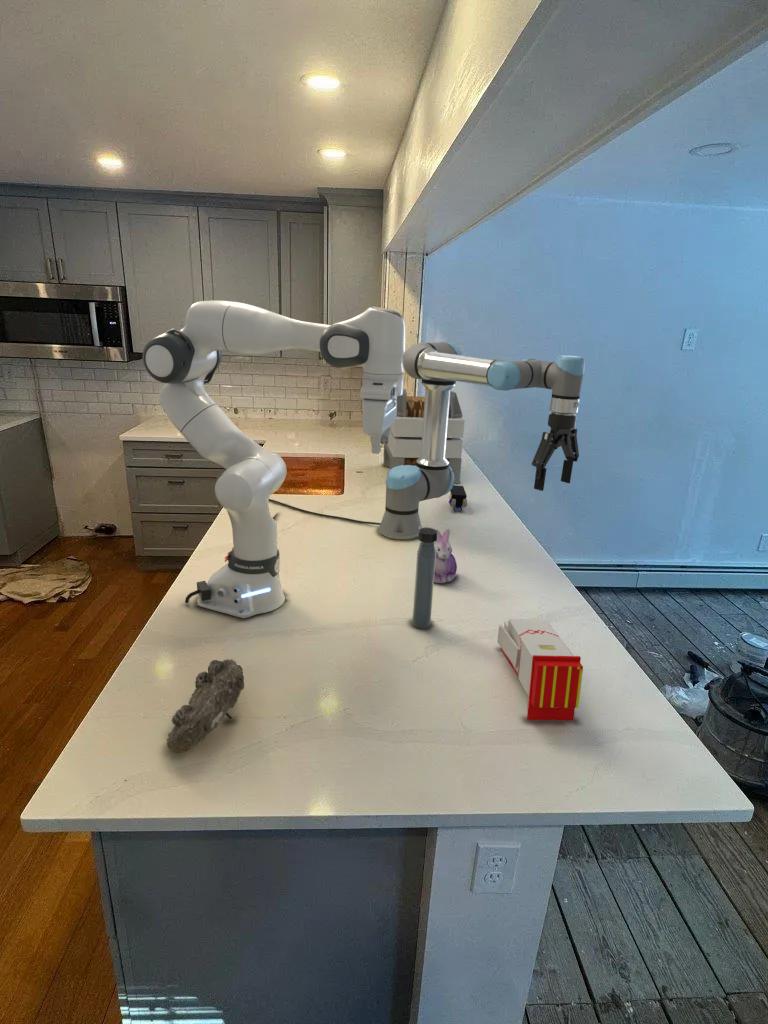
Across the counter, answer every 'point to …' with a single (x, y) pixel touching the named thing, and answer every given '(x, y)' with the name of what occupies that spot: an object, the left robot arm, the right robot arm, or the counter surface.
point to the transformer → (410, 429)
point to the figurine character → (458, 497)
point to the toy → (542, 668)
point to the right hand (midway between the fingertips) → (552, 485)
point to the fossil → (206, 705)
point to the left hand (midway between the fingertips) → (380, 448)
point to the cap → (427, 535)
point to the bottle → (424, 585)
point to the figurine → (444, 559)
